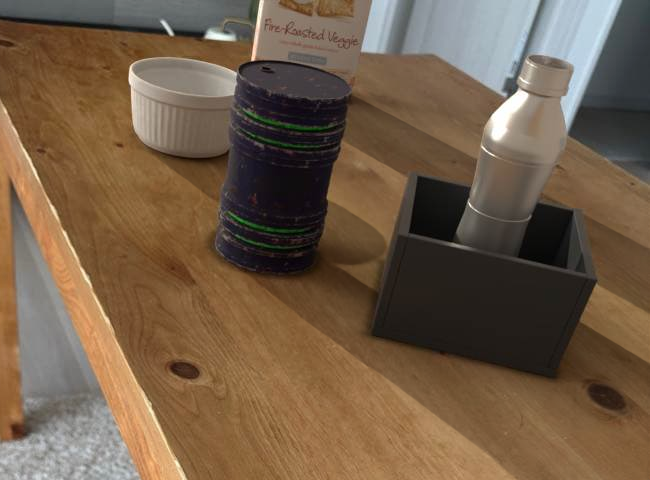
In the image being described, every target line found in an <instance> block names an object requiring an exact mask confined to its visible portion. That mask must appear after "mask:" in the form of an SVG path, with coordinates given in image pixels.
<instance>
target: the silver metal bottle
mask: <svg viewBox="0 0 650 480" xmlns="http://www.w3.org/2000/svg"><path fill="white" fill-rule="evenodd" d="M574 71H575V66H574V64H572V63H570V62H568V61H566V60H563V59H561V58H557V57H553V56H549V55H543V54H529V55H526V58H525V60H524V62H523V66H522V69H521V71H520V72H521V73H520V74H519V75H518V77H517V79H516V84H517V86H519V87H518V89H517V91H516V92H515V93H514V94H513V95H511V96H510V97H509V98H507V100H505V101H504V102H503V103H502V104H501V105H500V106H499V107H498V108H497V109H496V110H495V111H494V112H493V113H492V115H490V118H489V119H488V121H487V123H486V124H485V125H484V128H483V132H482V136H481V142H480V146H479V151H478V157H477V160H476V161H477V162H476V167H475V171H474V177H473V180H472V184H471V185H472V187H471V191H470V198H469V199H468V201H467V205H466V209H465V212H464V214H463V217H462V219H461V222H460V224H459V226H458V229H457V231H456V234H455V236H454V238H453V241H452V243H454V244H459V245H463V246H467V247H472V248H476V249H481V250H485V251H489V252H494V253H498V254H502V255H507V256H511V257H515V258H517V257H518V254H519V251H520V247H521V244H522V240H523V237H524V234H525V230H526V227H527V225H528V222H529V220H530V218H531V213H532V212H533V211H534V209H535V206H536V204H537V202H538V200H540V197H541V195H542V193H543V191H544V189H545V187H546V185H547V184H548V181H549V180H550V178H551V176H552V175H553V173H554V171H555V170H556V167H557V166H558V163H559V161H560V159H561V157H562V155H563V153H564V151H565V149H566V146H567V138H568V130H567V125H566V119H565V115H564V111H563V107H562V103H561V102H562V98H563V97H566V96H567V95H568V92H569V89H570V86H569V85H570V82H571V80H572V77H573V74H574Z"/></svg>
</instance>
